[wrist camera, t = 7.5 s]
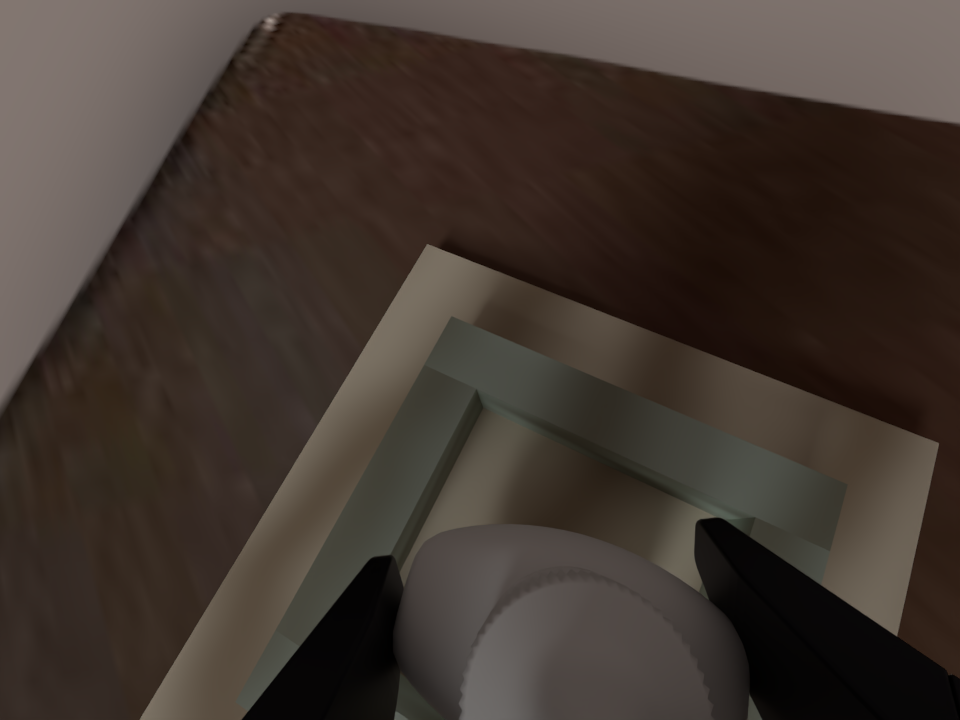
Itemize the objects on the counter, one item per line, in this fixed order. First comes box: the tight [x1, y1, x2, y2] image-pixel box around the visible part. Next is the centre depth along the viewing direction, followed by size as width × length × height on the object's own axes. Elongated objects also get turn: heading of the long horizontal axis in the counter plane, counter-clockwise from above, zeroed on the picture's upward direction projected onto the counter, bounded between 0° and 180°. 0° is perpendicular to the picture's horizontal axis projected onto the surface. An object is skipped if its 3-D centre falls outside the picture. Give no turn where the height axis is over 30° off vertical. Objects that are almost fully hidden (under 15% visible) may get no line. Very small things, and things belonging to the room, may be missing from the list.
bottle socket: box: [140, 244, 939, 720], centre depth 15 cm, size 20×20×4 cm
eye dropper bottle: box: [393, 524, 750, 720], centre depth 9 cm, size 4×6×12 cm
